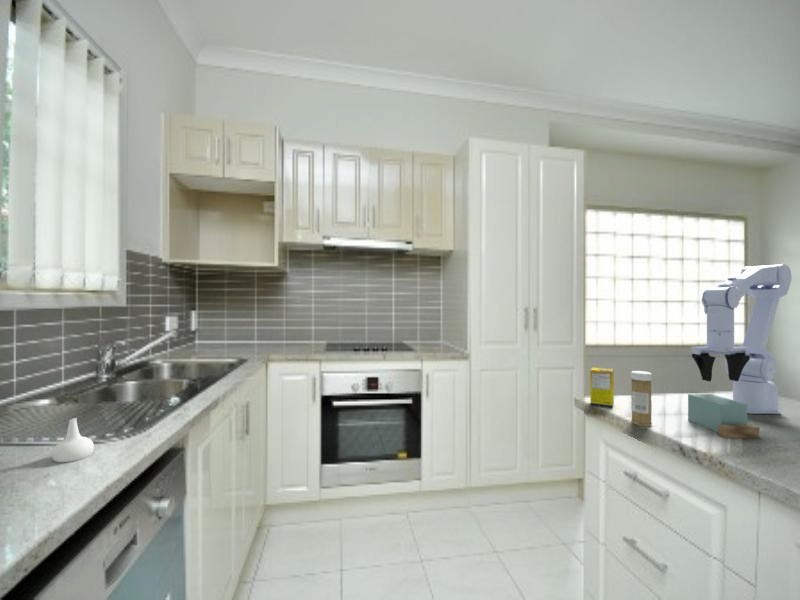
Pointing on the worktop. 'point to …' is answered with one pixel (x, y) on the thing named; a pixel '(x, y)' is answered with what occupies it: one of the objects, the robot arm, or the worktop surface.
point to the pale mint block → (715, 410)
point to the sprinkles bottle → (641, 398)
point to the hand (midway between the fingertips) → (720, 380)
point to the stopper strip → (738, 431)
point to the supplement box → (602, 387)
